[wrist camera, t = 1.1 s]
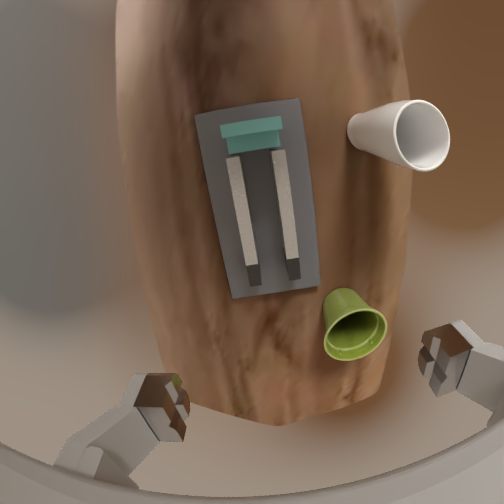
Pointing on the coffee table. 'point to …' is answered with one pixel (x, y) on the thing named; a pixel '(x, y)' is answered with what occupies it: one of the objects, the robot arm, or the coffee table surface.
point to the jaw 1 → (244, 218)
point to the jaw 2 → (285, 212)
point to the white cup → (402, 134)
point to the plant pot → (351, 326)
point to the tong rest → (261, 198)
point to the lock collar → (252, 134)
